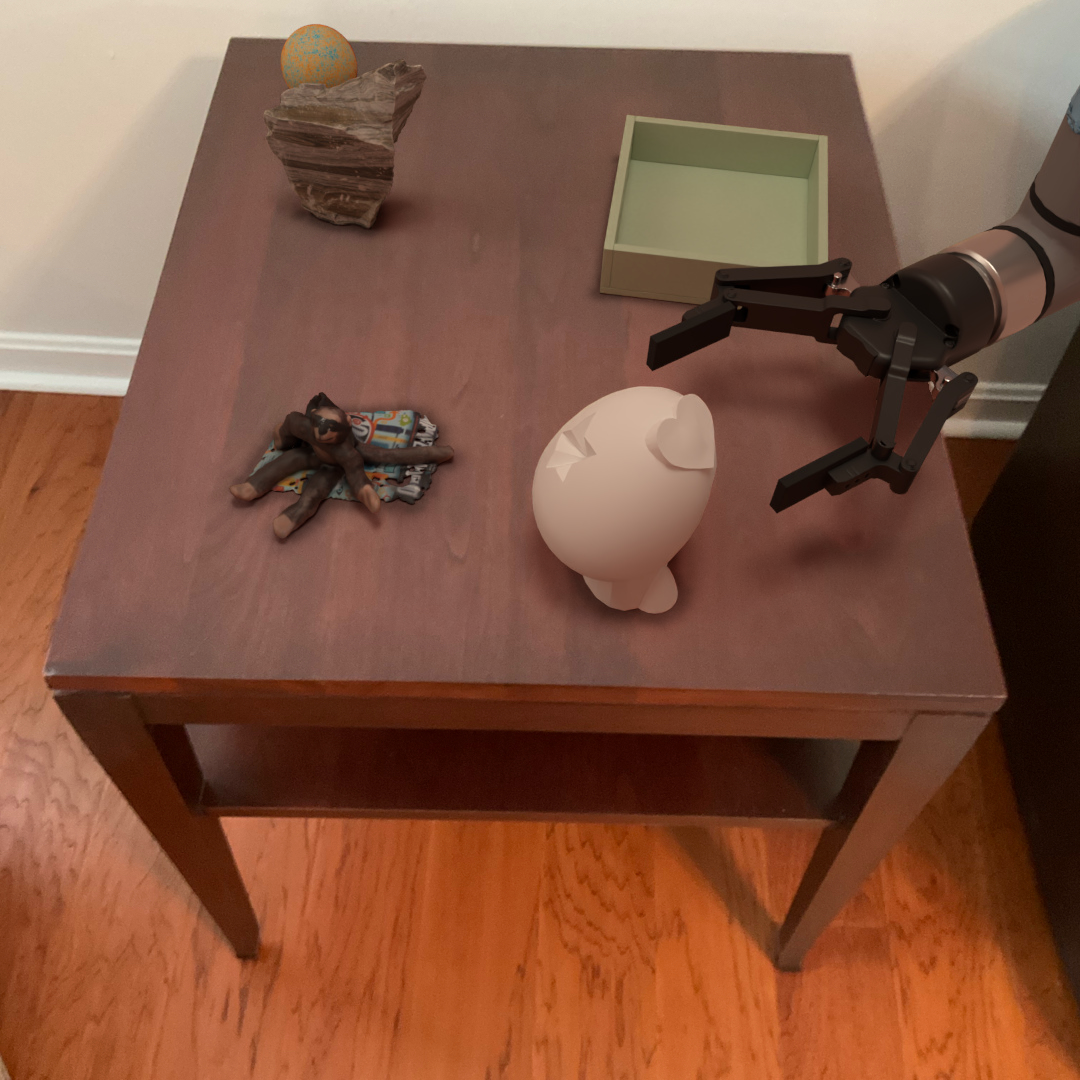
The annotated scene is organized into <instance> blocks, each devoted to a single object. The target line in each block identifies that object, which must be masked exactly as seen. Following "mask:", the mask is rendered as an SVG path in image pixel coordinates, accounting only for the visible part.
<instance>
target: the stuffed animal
mask: <svg viewBox="0 0 1080 1080" xmlns="http://www.w3.org/2000/svg"><path fill="white" fill-rule="evenodd" d="M421 416H422V413H421V412H418V411H414V410H412V409H407V410H405V409H399V410H385V411H384V410H377V411H374V412H370V411H355V412H353V411H351V412H345V410H343V409H342V408H341V407H339V406H338V405H337V404H335V403H334V401H332V400H331V398H329V397H328V396H327V394H326V393H325V392H323V391H320V392H318V394H316V395H314V396H312V398H311V399H310V400H309V402H308V403H307V404H306V409H305V414H304V413H303V412H301V411H297V410H296V411H295V410H294V411H291V412H290V413H288V414H287V415H286V416H285V419H284V421H283V422H279V423H278V424H277V425H275V426H274V427H273V429H272V433H271V435H272V437H273V438H272V440H271V442H270V444H269V445H268V449H266V451H265V452H264V454H263V455H262V456H261V459H260V461H259V462H258V463H257V464H256V466H255V467H254V468H253V472H252V473H250V474H249V475H248V477H247V478H246V479H245V481H244V483H237V484H233V485H231V486H229V488H228V490H229V493H230V494H231V495H232V496H233V497H234V498H236V499H238V500H240V501H241V500H242V501H245V502H247V501H248V502H250V501H253V500H254V499H258V498H261V497H262V496H264V495H265V494H266V493H268V492H270V491H273V492H277V491H278V492H286V491H291V490H292V491H293V492H294V493H295V494H299V495H300V496H299V498H298V499H297V501H296V502H294V503H292V504H290V505H289V506H288V507H286V508H285V509H283V510H282V511H281V512H280V514H279V515H278V516H276V517H275V518H274V519H273V520H272V529H273V531H272V532H273V533H274V535H276V536H277V537H278V538H280V539H285V538H286V537H287V536H289V535H290V534H291V533H292V532H294V531H295V530H297V529H298V528H299V527H300V526H302V525H303V524H304V523H305V522H306V521H307V520H308V519H310V518H311V517H313V516H314V515H315V514H316V511H317V509H318V507H319V505H320V503H321V502H322V501H323V500H326V499H329V498H332V499H338V500H339V499H341V500H346V501H348V502H349V501H350V502H351V501H355V502H361V503H362V504H363V505H364V506H365V507H366V508H367V509H368V510H369V511H370V513H371V514H374V515H377V514H379V513H380V512H381V509H382V500H383V501H384V502H393V501H394V500H397V499H399V500H401V501H402V502H407V504H410V505H411V504H412V505H414V504H415V503H416V502H415V500H420V499H421V497H423V495H424V494H425V491H427V489H429V488H430V486H431V485H430V484H431V483H432V480H433V479H432V475H431V474H433V473H435V472H436V470H437V467H438V466H439V465H440V464H441V463H443V462H446V461H449V460H450V459H451V458H452V457H453V456H454V455H455V450H454V448H453V446H451V445H437V443H435V441H436V439H438V438H439V437H440V436H439V434H438V432H439V429H438V426H437V424H433V423H431V421H430V420H429V418H428V416H426V415H425V414H424V415H423V416H424V417H423V418H421ZM419 431H425V432H423V433H422V432H419ZM273 449H274V451H272V450H273ZM413 467H414V470H410V469H411V468H413ZM421 470H422V471H421ZM423 470H424V471H423ZM409 476H411V477H410V480H409V484H406V485H404V486H399V485H393V484H390V483H389V481H388V482H387V481H386V479H395V480H396V483H402V482H404V479H405V478H407V477H409ZM374 478H376V479H379V480H374ZM302 479H306V480H302ZM291 484H293V485H291ZM423 488H424V490H425V491H423V490H422V489H423Z"/></svg>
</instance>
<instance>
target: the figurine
mask: <svg viewBox="0 0 1080 1080" xmlns="http://www.w3.org/2000/svg"><path fill="white" fill-rule="evenodd" d="M713 420H714V419H713V415H712V413H711V410H710V409H709V407H708V406H707V404H706V402H704V400H703V399H702V398H701V397H700V396H698V395H697V394H695V393H687V394H685V395H683V394H681V393H680V392H678V391H676V390H673V389H671V388H667V387H662V386H648V385H647V386H646V385H645V386H643V385H642V386H641V385H639V386H631V387H627V388H624V389H620V390H616V391H613V392H611V393H609V394H607V395H604V396H602V397H600V398H598V399H597V400H595V401H593V402H591V403H590V404H588V405H586V406H585V407H584V408H582V409H581V410H580V411H578V412H577V413H576V414H575V415H574V416H572V418H570V419H569V420H568V421H566V423H564V424H563V425H562V427H560V429H559V430H558V431H557V432H556V434H554V436H553V437H552V438H551V439H550V441H549V442H548V444H547V445H546V446H545V448H544V450H543V452H542V453H541V455H540V457H539V459H538V462H537V464H536V467H535V470H534V474H533V480H532V486H531V499H532V500H531V503H532V510H533V517H534V520H535V524H536V527H537V529H538V531H539V533H540V536H541V539H543V541H544V542H545V544H546V545H547V547H548V549H549V550H550V551H551V552H552V553H553V555H555V557H556V558H558V560H559V561H560V562H562V563H563V564H564V565H565V566H567V568H569V569H571V571H574V572H576V573H577V574H580V575H582V577H583V580H584V582H585V584H586V586H587V587H588V588H589V590H590V591H591V592H592V594H593V595H594V597H595V598H596V599H597V600H598V601H600V602H602V603H603V604H604V605H606V606H607V607H608V608H611V609H615V610H619V611H624V612H625V611H631V610H636V609H639V610H640V611H642V612H644V613H647V614H654V615H656V614H663V613H665V612H667V611H669V610H671V609H672V608H673V607H674V606H675V604H676V602H677V600H678V597H679V591H678V586H677V582H676V579H675V578H674V575H673V573H672V571H671V569H670V568H669V566H668V564H669V562H670V561H671V560H672V559H673V558H674V557H675V556H676V555H677V553H679V551H681V549H682V548H683V547H684V546H685V545H686V543H687V542H688V541H689V540H690V539H691V538H692V536H693V534H694V532H695V531H696V529H697V527H698V526H699V524H700V522H701V520H702V519H703V516H704V513H705V510H706V508H707V506H708V503H709V501H710V496H711V492H712V487H713V483H714V480H715V477H716V472H717V468H718V467H717V466H718V461H717V460H718V459H717V456H718V455H717V454H718V453H717V447H716V446H717V445H716V440H715V426H714V421H713Z"/></svg>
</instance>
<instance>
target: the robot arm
mask: <svg viewBox="0 0 1080 1080" xmlns="http://www.w3.org/2000/svg"><path fill="white" fill-rule="evenodd" d="M852 267H853V263H852V261H851V260H850V259H849V258H847V257H837V258H834V259H831V260H828V262H825V263H822V264H818V265H795V266H773V267H750V268H728V269H719V270H717V271H716V273H715V278H714V283H713V287H712V292H711V297H710V301H708V302H706V303H704V304H702V305H699V304H698V305H697V306H694V307H692V308H690V309H688V310H686V311H685V312H684V313H683V314H682V316H681V320H680V322H679V323H675V324H674V325H672V326H669V327H667V328H665V329H662V330H661V331H659V332H656V333H654V334H652V335H650V336H649V342H648V349H647V355H646V361H645V365H646V366H647V368H648V369H649V370H650V371H651V372H655V371H656V370H658V369H661V368H663V367H665V366H668V365H669V364H672V363H674V362H676V361H678V360H681V359H682V358H685V357H687V356H689V355H691V354H694V353H696V352H698V351H700V350H703V349H704V348H707V347H708V346H711V345H713V344H715V343H718V342H721V341H722V340H725V339H726V338H728V337H730V335H731V330H732V327H735V328H743V329H749V330H750V329H751V330H757V331H758V330H759V331H766V332H775V333H781V334H789V335H798V336H806V337H812V338H814V339H815V341H816V342H817V343H820V344H828V345H834V346H836V348H835V349H836V350H837V351H838V352H840V354H841V355H842V356H844V357H845V358H847V359H848V360H850V361H852V362H853V364H854V365H855V367H856V368H857V370H858V372H860V374H862V375H863V376H864V377H865V378H868V377H871V378H873V379H877V380H879V383H878V386H877V387H878V388H877V392H876V398H875V401H876V403H875V407H874V412H873V417H872V422H871V427H870V431H869V436H868V441H867V440H866V439H865V438H864V437H863V436H862V435H861V436H859V437H857V438H855V439H854V440H852V441H849V442H848V443H845V444H844V445H842V446H840V447H838V448H836V449H834V450H832V451H830V452H828V453H827V454H825V455H823V456H820V457H819V458H817V459H815V460H813V461H810V462H809V463H807V464H805V465H803V466H801V467H799V468H797V469H796V470H795V469H794V470H793V471H792V472H790V473H787V474H786V475H783V476H782V477H780V478H778V480H777V482H776V484H775V488H774V491H773V494H772V497H771V499H770V502H769V506H770V507H771V509H772V510H773V511H774V513H776V514H779V513H781V512H783V511H785V510H787V509H788V508H790V507H792V506H795V505H796V504H798V503H800V502H802V501H803V500H805V499H807V498H809V497H811V496H814V495H815V494H816V493H818V492H820V491H823V490H825V491H826V492H827V493H828V494H829V495H830V496H831V497H835V496H841V495H842V494H845V493H847V492H848V491H850V490H852V489H854V488H856V487H858V486H860V485H861V484H863V483H865V482H867V481H869V480H876V479H878V480H880V481H883V482H885V483H886V484H888V485H889V490H890V491H891V492H892V493H894V494H896V495H899V496H900V495H901V496H903V495H906V494H907V493H908V492H909V490H910V488H911V487H912V484H913V483H914V481H915V479H916V477H917V475H918V474H919V471H920V470H921V468H922V467H923V464H924V462H925V460H926V459H927V457H928V455H929V453H930V451H931V449H932V447H933V446H934V444H935V442H936V440H937V439H938V436H939V434H940V433H941V431H942V429H943V427H944V425H945V423H946V422H947V420H949V419H951V418H952V417H953V416H955V415H956V414H958V412H960V411H962V410H963V409H964V408H965V406H966V405H967V403H968V401H969V399H970V398H971V395H972V394H973V392H974V390H975V388H976V387H977V385H978V383H979V378H978V376H977V375H976V374H975V373H974V372H972V371H971V372H970V371H964V372H961V373H960V374H958V373H956V371H954V370H953V369H951V367H952V366H954V365H956V364H958V363H960V362H962V361H964V360H965V359H968V358H970V357H971V356H974V355H976V354H977V353H979V352H981V350H983V349H986V348H988V347H990V346H993V345H995V344H996V343H998V342H1000V341H1003V340H1004V339H1007V338H1008V337H1010V336H1012V335H1014V334H1016V333H1018V332H1021V331H1023V330H1024V329H1026V328H1027V327H1031V325H1034V324H1035V323H1037V322H1039V321H1040V320H1042V319H1045V318H1047V317H1049V316H1051V315H1053V314H1055V313H1057V312H1059V311H1061V310H1063V309H1065V308H1067V307H1069V306H1072V305H1073V304H1076V303H1078V302H1080V84H1079V85H1078V87H1077V89H1076V91H1075V92H1074V93H1073V95H1072V97H1071V98H1070V101H1069V103H1068V107H1067V109H1066V112H1065V113H1064V115H1063V119H1062V120H1061V123H1060V125H1059V127H1058V129H1057V132H1056V134H1055V136H1054V137H1053V140H1052V142H1051V145H1050V147H1049V149H1048V151H1047V153H1046V155H1045V158H1044V160H1043V163H1042V164H1041V167H1040V169H1039V170H1038V172H1037V173H1036V175H1035V177H1034V179H1033V181H1032V183H1031V184H1030V186H1029V188H1028V189H1027V191H1026V194H1025V195H1024V198H1023V200H1022V202H1021V204H1020V206H1019V208H1018V210H1017V211H1016V213H1014V215H1013V216H1011V218H1008V219H1006V220H1005V221H1003V222H1001V223H998V224H997V225H995V226H992V227H991V228H989V229H986V230H984V231H981V232H979V233H977V234H975V235H972V236H970V237H968V238H966V239H963V240H961V241H959V242H957V243H954V244H951V245H950V246H948V247H946V248H943V249H942V250H939V251H938V252H937V253H935V254H932V255H929V256H927V257H925V258H922V259H921V260H918V261H916V262H914V263H912V264H909V265H907V266H905V267H903V268H901V269H899V270H897V271H896V272H894V273H892V274H891V275H890V276H889V277H887V278H886V279H885V280H883V281H882V282H881V283H878V284H874V285H861V284H859V282H858V281H857V280H856V279H855V278H854V277H853V275H852V274H851V270H852ZM738 306H742V308H741V309H737V308H738ZM839 314H841V317H840V320H839V323H838V326H832V323H833V320H834V317H835V315H839ZM907 382H908V383H911V382H912V383H922V384H923V383H930V382H931V383H932V384H933V387H932V390H931V392H930V393H931V394H930V396H931V398H932V400H931V402H932V404H931V406H930V407H929V410H928V411H927V413H926V415H925V417H924V418H923V421H922V422H921V424H920V426H919V427H918V429H917V431H916V432H915V435H914V437H913V438H912V440H911V441H910V444H909V445H908V447H907V449H906V450H905V452H904V454H903V456H902V455H900V454H899V453H896V452H895V451H894V450H895V447H896V445H897V442H896V441H895V440H896V436H897V432H898V428H899V427H898V426H899V421H900V416H901V409H902V405H903V401H904V400H903V399H904V394H905V391H906V390H905V389H906V383H907Z"/></svg>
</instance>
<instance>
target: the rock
mask: <svg viewBox="0 0 1080 1080" xmlns="http://www.w3.org/2000/svg"><path fill="white" fill-rule="evenodd" d="M426 79H427V74H426V73H425V69H424V66H423V65H422V64H413V65H412V64H410V65H409V64H407V61H406V59H404V58H402V59H398V60H395V61H391V62H388V63H385V64H384V65H382V66H380V67H378V68H374V69H372V70H370V71H367V72H364V73H363V74H360V76H357V78H354V79H350V80H348V81H346V82H344V83H343V84H341V85H338V86H335V87H332V88H330V89H327V88H326V86H325V85H326V84H321V83H319V84H313V83H301V84H300V85H299V87H295V88H291V89H289V88H288V89H286V90H284V91H283V92H281V95H280V97H281V98H280V104H279V105H277V106H274V107H273V108H267V109H266V110H264V112H263V122H264V124H265V126H266V128H267V131H268V132H267V133H266V134H265V140H266V143H267V145H268V147H269V148H270V150H271V153H273V154H274V156H276V158H277V159H278V160H280V162H281V164H282V166H283V170H284V172H285V174H286V176H287V177H286V178H287V180H288V182H289V186H290V188H291V190H292V191H293V193H294V194H295V195H296V196H297V197H298V198H299V200H300V205H301V208H302V209H304V210H306V211H308V213H311V214H313V215H314V217H316V218H317V219H319V220H321V221H324V222H327V223H330V224H331V225H332V226H345V225H347V226H348V225H349V226H350V225H353V226H358V227H362V229H368V230H371V229H372V228H373V227H374V226H375V225H376V221H377V219H378V216H379V211H380V208H381V206H382V204H383V203H384V202H385V200H386V199H387V197H389V195H390V194H391V190H392V188H393V184H394V177H395V176H394V175H395V174H394V168H395V164H394V163H395V158H394V157H395V155H396V154H395V153H396V152H395V151H396V149H395V143H397V142H398V139H399V137H400V135H401V133H402V130H403V129H404V128H405V126H406V123H407V121H408V118H409V117H410V116H411V114H412V113H413V108H414V105H415V104H416V102H417V101H418V100H419V98H420V97H421V95H422V91H423V88H424V84H425V81H427V80H426Z"/></svg>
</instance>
